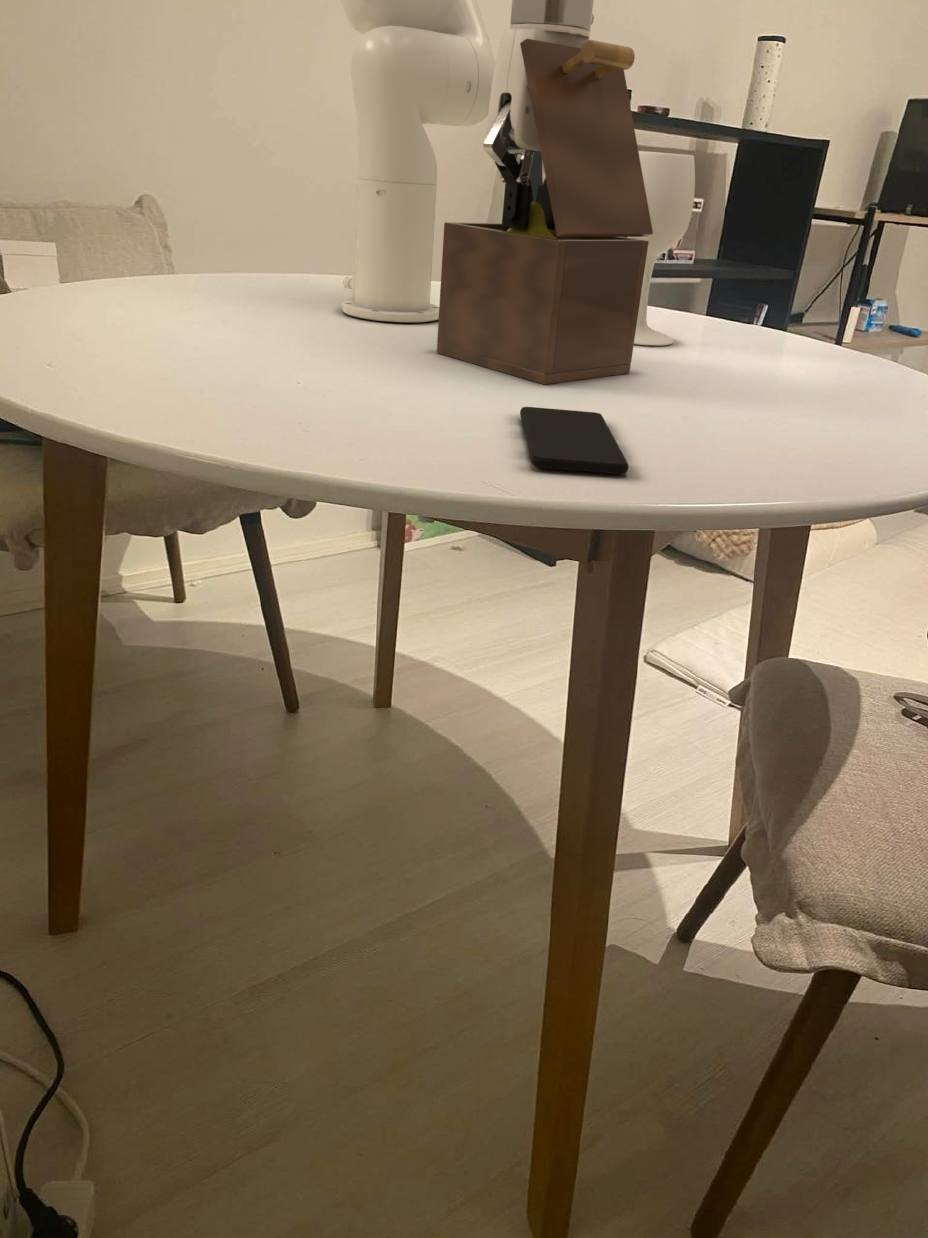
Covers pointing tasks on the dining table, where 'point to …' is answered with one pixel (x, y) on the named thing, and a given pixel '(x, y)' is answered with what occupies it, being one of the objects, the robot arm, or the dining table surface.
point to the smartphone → (571, 441)
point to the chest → (539, 302)
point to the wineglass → (663, 221)
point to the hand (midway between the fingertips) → (531, 226)
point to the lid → (587, 138)
